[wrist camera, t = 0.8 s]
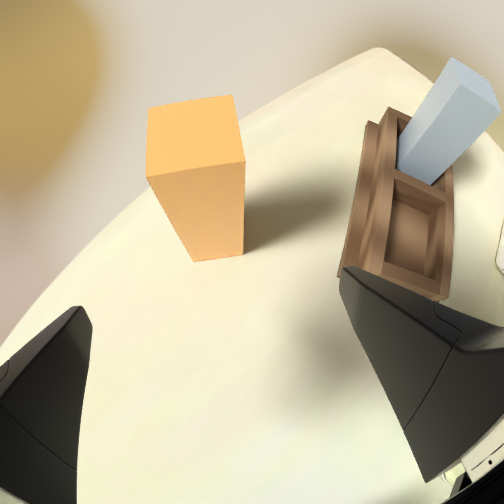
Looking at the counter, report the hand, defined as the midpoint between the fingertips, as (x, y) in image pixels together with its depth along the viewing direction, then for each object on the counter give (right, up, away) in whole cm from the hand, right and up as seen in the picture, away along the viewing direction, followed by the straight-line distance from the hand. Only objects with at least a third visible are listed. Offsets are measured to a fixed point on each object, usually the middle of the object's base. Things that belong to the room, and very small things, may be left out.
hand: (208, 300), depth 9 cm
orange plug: (-2, +3, +15) cm, 15 cm away
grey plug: (+17, +10, +16) cm, 26 cm away
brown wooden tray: (+16, +6, +16) cm, 23 cm away
